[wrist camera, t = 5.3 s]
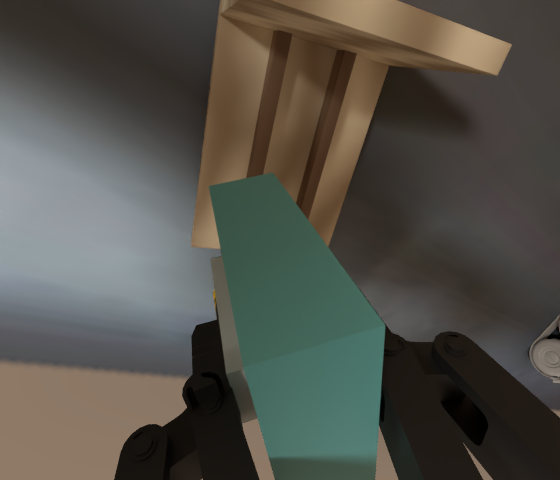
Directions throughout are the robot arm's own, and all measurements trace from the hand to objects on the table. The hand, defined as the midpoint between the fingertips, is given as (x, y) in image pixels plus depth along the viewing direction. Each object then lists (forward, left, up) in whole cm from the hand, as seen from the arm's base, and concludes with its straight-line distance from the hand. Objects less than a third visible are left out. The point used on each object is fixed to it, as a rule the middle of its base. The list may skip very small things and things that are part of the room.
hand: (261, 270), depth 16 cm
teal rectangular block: (0, 0, -1) cm, 1 cm away
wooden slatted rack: (+5, +3, -15) cm, 16 cm away
